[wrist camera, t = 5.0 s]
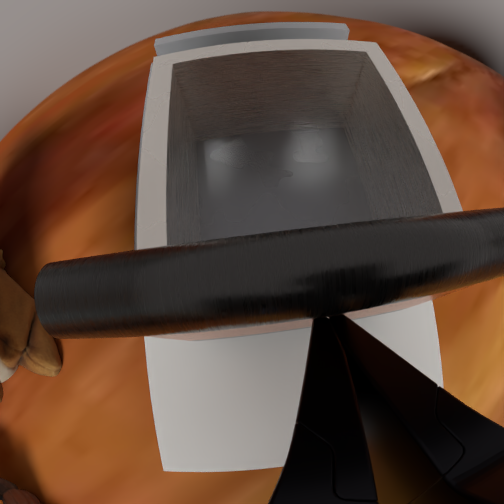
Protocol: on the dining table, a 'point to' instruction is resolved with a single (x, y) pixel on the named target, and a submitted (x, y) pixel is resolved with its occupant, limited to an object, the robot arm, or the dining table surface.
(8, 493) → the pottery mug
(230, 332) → the open bin with handle
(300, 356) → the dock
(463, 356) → the dining table surface
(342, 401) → the robot arm
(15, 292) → the stuffed squirrel
